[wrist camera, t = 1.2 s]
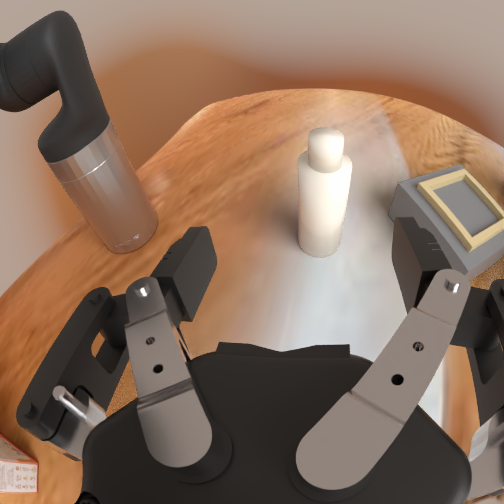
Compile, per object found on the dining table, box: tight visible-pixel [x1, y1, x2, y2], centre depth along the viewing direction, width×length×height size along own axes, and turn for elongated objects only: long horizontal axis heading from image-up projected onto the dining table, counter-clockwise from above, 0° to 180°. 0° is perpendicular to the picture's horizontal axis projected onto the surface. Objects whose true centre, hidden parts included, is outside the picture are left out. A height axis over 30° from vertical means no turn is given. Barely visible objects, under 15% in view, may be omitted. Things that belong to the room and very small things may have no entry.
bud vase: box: [298, 128, 352, 258], centre depth 29 cm, size 5×5×15 cm
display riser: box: [388, 164, 504, 282], centre depth 30 cm, size 14×14×7 cm
